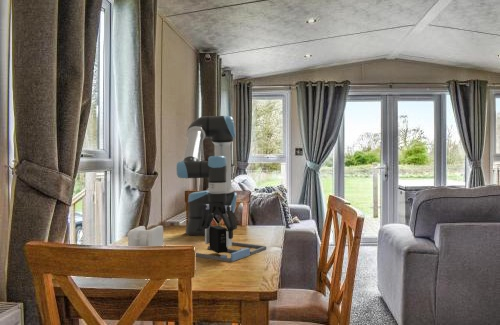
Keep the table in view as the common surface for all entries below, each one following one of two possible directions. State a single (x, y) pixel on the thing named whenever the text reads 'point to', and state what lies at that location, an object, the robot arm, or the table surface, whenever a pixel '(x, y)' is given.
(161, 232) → the cable organizer
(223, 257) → the grey flat frame
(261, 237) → the table surface
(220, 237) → the electronic device
